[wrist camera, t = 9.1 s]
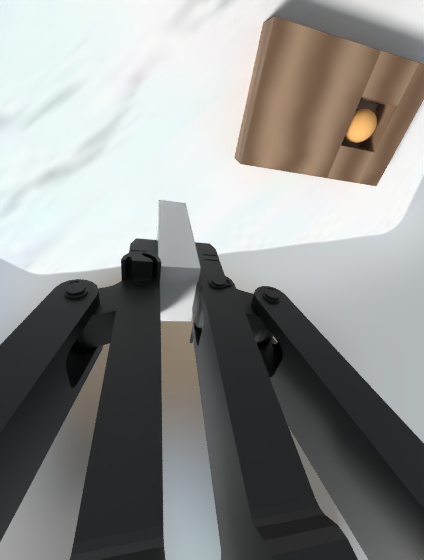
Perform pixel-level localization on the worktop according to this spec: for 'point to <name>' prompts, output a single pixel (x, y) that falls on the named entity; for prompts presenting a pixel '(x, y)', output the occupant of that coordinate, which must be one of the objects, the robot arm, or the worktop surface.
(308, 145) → the wooden block with hole
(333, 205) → the worktop surface
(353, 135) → the ball
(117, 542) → the robot arm
